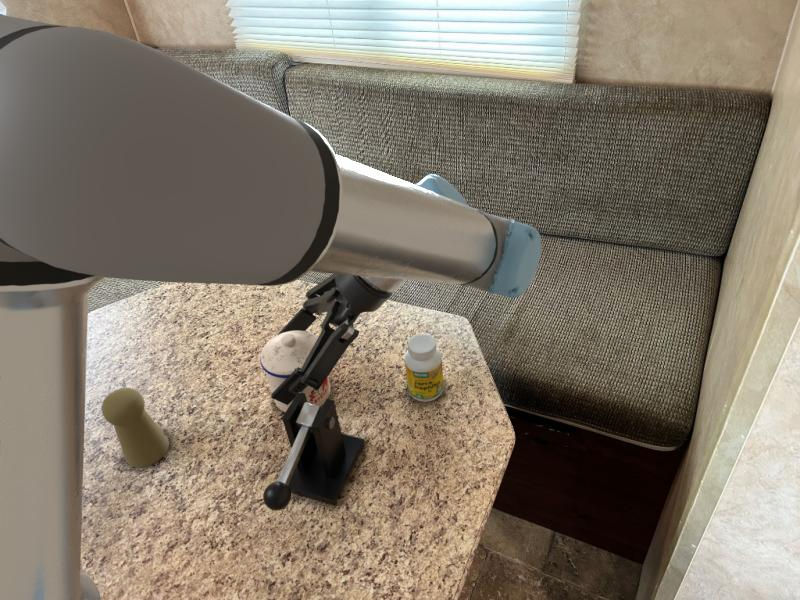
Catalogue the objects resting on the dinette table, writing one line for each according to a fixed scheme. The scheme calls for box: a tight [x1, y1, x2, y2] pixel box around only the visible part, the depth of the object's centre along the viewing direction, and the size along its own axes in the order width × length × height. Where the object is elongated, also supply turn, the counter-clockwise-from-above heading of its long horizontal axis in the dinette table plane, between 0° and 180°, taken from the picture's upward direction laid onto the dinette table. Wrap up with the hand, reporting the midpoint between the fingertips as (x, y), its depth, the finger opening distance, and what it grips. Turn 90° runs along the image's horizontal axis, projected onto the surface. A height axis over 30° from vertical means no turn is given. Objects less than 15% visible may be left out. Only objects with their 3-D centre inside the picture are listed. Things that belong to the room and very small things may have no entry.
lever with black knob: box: [262, 403, 322, 512], centre depth 73 cm, size 13×3×3 cm, turn 160°
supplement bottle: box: [404, 333, 445, 403], centre depth 88 cm, size 5×5×10 cm
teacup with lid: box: [259, 330, 331, 413], centre depth 89 cm, size 12×9×12 cm
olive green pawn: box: [101, 387, 170, 468], centre depth 83 cm, size 6×6×11 cm
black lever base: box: [281, 392, 366, 506], centre depth 78 cm, size 10×8×12 cm
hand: (282, 368), depth 90 cm, fingers closed on teacup with lid, 12 cm apart
